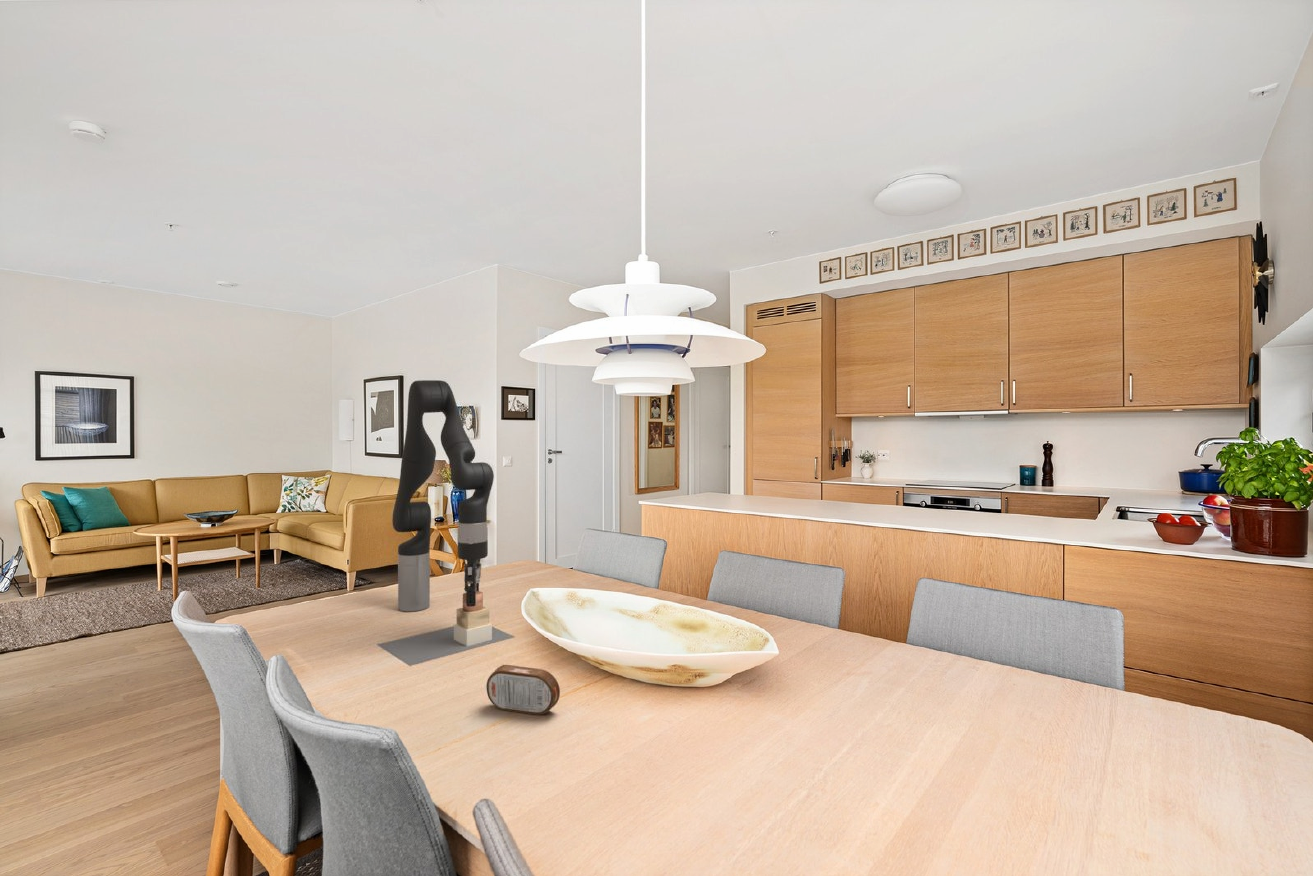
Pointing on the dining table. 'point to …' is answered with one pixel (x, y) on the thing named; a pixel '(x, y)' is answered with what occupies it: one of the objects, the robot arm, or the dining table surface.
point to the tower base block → (472, 634)
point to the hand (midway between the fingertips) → (472, 601)
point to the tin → (523, 689)
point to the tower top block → (472, 618)
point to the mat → (434, 645)
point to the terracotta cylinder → (477, 606)
